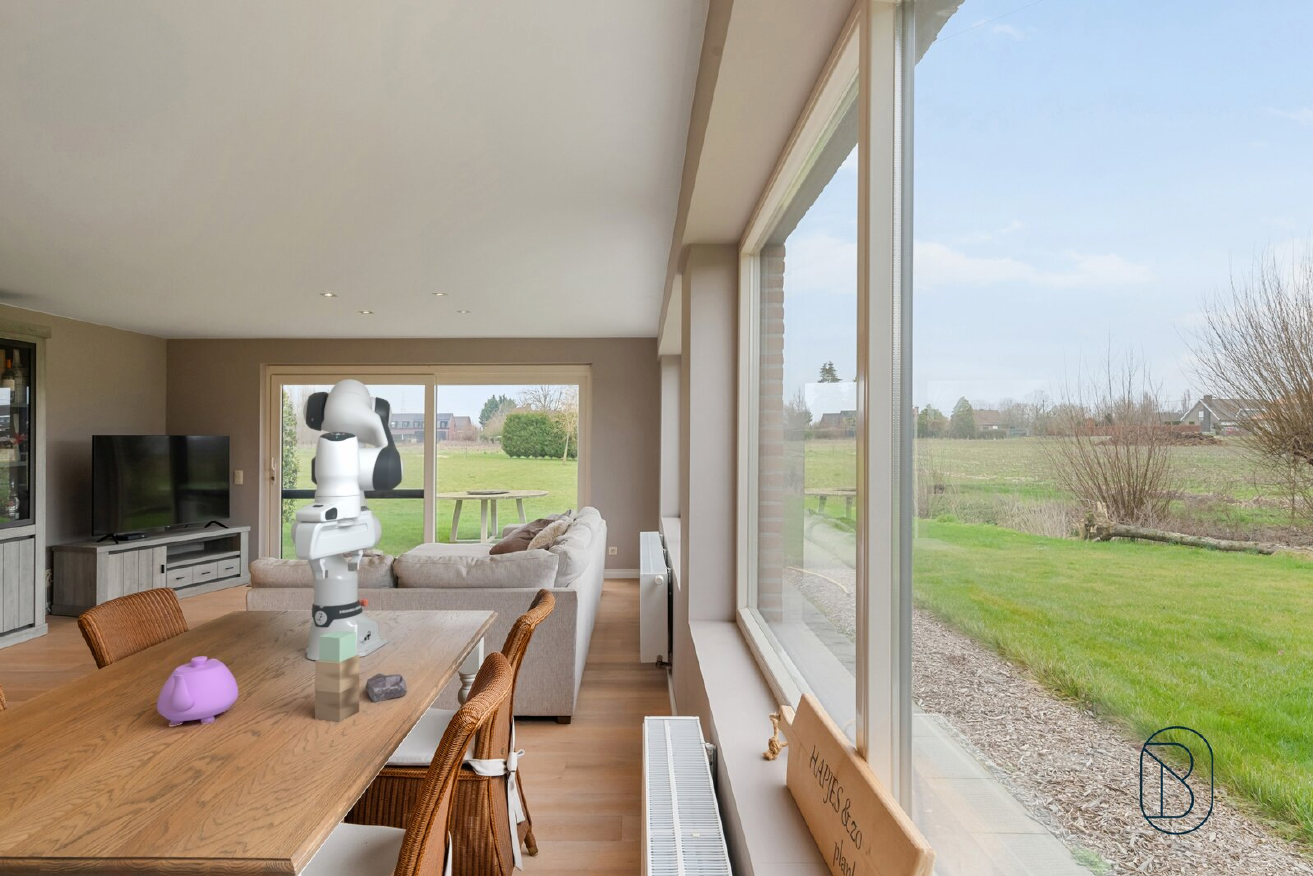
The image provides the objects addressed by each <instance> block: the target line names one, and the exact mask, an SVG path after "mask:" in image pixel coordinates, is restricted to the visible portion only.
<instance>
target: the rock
mask: <svg viewBox="0 0 1313 876" xmlns="http://www.w3.org/2000/svg"><path fill="white" fill-rule="evenodd" d="M365 689H366V691H367V693H368V696H369V698H370V700H371V701H372V702H373V703H378V702H384V701H386V700H390V699H396V698H399V697H400V698H401V697H403V696H405V695H406V694H407V692H408V690H407V684H406V678H405V676H403V675H402V674H399V673H398V674H397V673H396V674H384V673H377V674H375V675H372V677H370V678H368V679H367V680H366V684H365Z"/></svg>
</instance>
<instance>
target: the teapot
mask: <svg viewBox="0 0 1313 876" xmlns="http://www.w3.org/2000/svg"><path fill="white" fill-rule="evenodd" d="M190 661H191V662H188V663H185V664H182V665H179V666H177V667H176V668H174V670H173V671H172V672H171V673H170V675H169V677H168V679H166V682H165V683H164V685H163V686H162V688H161V689H160V693H159V695H158V699H157V704H156V710H157V712H158V713H159V715H161V716H162V717H163V718H165V719H166V720H169V721H170V722H169V723H168V724H169V725H177V724H180V723H182V724H183V723H184V722H185V721H186V722H187V721H194V720H195V721H196V720H200V724H201V723H211V722H214V721H215V722H216V719H215V716H216V715H219V714H223V713H222V712H224V711H226V710H229V709H230V708H231V706H233V705H234V703H235V702H236V701H237V699H238V697H239V686H238V684H237V681H236V679H235V676H234V675H233V674H232V672H231V671H230V669H229V668H228V666H227V665H225V664H224V663H223V662H222V661H220V660H219V659H217V658H209V659H208V656H202V655H201V656H195V657H192V658H191V659H190ZM226 712H227V711H226ZM224 713H225V712H224ZM215 722H214V723H215ZM211 724H212V723H211Z"/></svg>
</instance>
